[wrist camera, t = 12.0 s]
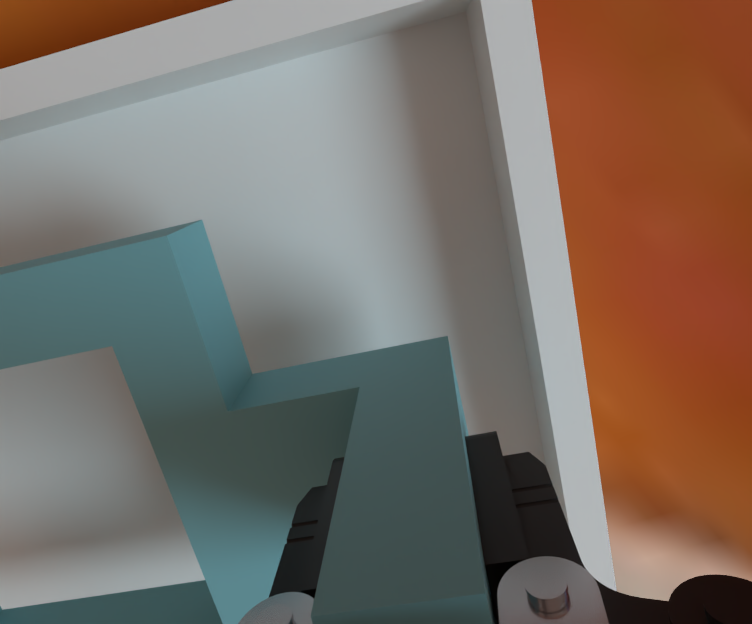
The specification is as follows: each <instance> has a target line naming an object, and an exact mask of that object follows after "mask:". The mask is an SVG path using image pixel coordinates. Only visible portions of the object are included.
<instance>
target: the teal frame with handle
mask: <svg viewBox="0 0 752 624" xmlns="http://www.w3.org/2000/svg"><path fill="white" fill-rule="evenodd" d="M110 346H112V347H113V350H114V352H115V355H116V357H117V360H118V362H119V365H120V367H121V370H122V372H123V375H124V377H125V380H126V382H127V385H128V387H129V390H130V392H131V395H132V397H133V400H134V402H135V405H136V408H137V410H138V413H139V415H140V418H141V420H142V423H143V425H144V428H145V430H146V433H147V435H148V438H149V440H150V443H151V445H152V448H153V450H154V453H155V455H156V458H157V460H158V463H159V465H160V468H161V470H162V473H163V475H164V478H165V480H166V483H167V485H168V488H169V490H170V493H171V495H172V498H173V500H174V503H175V505H176V508H177V510H178V513H179V515H180V518H181V520H182V523H183V525H184V528H185V530H186V533H187V535H188V538H189V540H190V543H191V545H192V548H193V550H194V553H195V555H196V558H197V560H198V563H199V565H200V568H201V570H202V573H203V575H204V578H205V580H202V581H195V582H188V583H181V584H174V585H168V586H161V587H154V588H147V589H140V590H133V591H127V592H120V593H113V594H106V595H99V596H92V597H85V598H79V599H72V600H65V601H58V602H51V603H44V604H38V605H31V606H24V607H17V608H10V609H3V610H2V608H1V606H0V624H238V623H239V622H240V620H241V619H242V618H243V617H244V615H245V614H246V613H247V612H248V611H249V610H251V609H252V608H253V607H254V606H256V605H257V604H258V603H260V602H261V601H263V600H265V599H267V598H269V594H270V591H271V588H272V585H273V582H274V578H275V575H276V572H277V569H278V565H279V562H280V559H281V556H282V553H283V549H284V546H285V544H287V536H288V533H289V530H290V528H292V525H291V524H292V520H293V517H294V514H295V511H296V507H297V505H298V504H299V502H300V501H301V500H302V499H303V498H304V496H305V495H306V494H307V493H308V492H309V490H310V489H311V488H312V487H318V486H324V485H327V482H328V478H329V474H330V470H331V466H332V462H333V460H334V459H335V458H341V457H345V458H344V463H343V467H342V472H341V477H340V481H339V486H338V491H337V495H336V500H335V505H334V509H333V514H332V519H331V523H330V528H329V533H328V537H327V542H326V547H325V551H324V556H323V561H322V565H321V570H320V575H319V579H318V584H317V589H316V593H315V598H314V603H313V607H312V612H311V620H312V623H313V624H497V619H496V615H495V610H494V606H493V601H492V596H491V592H490V587H489V583H488V578H487V574H486V569H485V564H484V558H483V551H482V545H481V538H480V532H479V525H478V519H477V512H476V506H475V499H474V493H473V486H472V480H471V473H470V467H469V460H468V454H467V447H466V441H465V436H469V434H468V430H467V425H466V420H465V416H464V411H463V406H462V401H461V397H460V392H459V387H458V382H457V378H456V373H455V368H454V364H453V359H452V354H451V349H450V345H449V340H448V336H444V337H439V338H433V339H428V340H423V341H418V342H413V343H408V344H403V345H398V346H393V347H387V348H382V349H377V350H372V351H367V352H362V353H357V354H352V355H347V356H341V357H336V358H331V359H326V360H321V361H316V362H311V363H306V364H301V365H295V366H290V367H285V368H280V369H275V370H270V371H265V372H260V373H254V374H252V371H251V368H250V365H249V362H248V359H247V356H246V353H245V350H244V347H243V344H242V341H241V337H240V334H239V331H238V328H237V325H236V322H235V319H234V316H233V313H232V310H231V307H230V304H229V301H228V298H227V295H226V291H225V288H224V285H223V282H222V279H221V276H220V273H219V270H218V267H217V264H216V261H215V258H214V255H213V252H212V249H211V245H210V242H209V239H208V236H207V233H206V230H205V227H204V224H203V221H202V220H198V221H194V222H190V223H186V224H181V225H177V226H173V227H169V228H165V229H160V230H156V231H152V232H148V233H143V234H139V235H135V236H131V237H127V238H122V239H118V240H114V241H110V242H105V243H101V244H97V245H93V246H89V247H84V248H80V249H76V250H72V251H67V252H63V253H59V254H55V255H50V256H46V257H42V258H38V259H34V260H29V261H25V262H21V263H17V264H12V265H8V266H4V267H0V369H5V368H10V367H15V366H20V365H24V364H29V363H34V362H39V361H43V360H48V359H53V358H58V357H62V356H67V355H72V354H77V353H81V352H86V351H91V350H96V349H101V348H105V347H110Z"/></svg>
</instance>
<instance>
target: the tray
mask: <svg viewBox="0 0 752 624" xmlns="http://www.w3.org/2000/svg"><path fill="white" fill-rule="evenodd" d="M198 220H202V221H203V224H204V227H205V230H206V233H207V236H208V239H209V242H210V245H211V249H212V252H213V255H214V258H215V261H216V264H217V267H218V270H219V273H220V276H221V279H222V282H223V285H224V288H225V291H226V295H227V298H228V301H229V304H230V307H231V310H232V313H233V316H234V319H235V322H236V325H237V328H238V331H239V334H240V337H241V341H242V344H243V347H244V350H245V353H246V356H247V359H248V362H249V365H250V368H251V371H252V374H254V373H260V372H265V371H270V370H275V369H280V368H285V367H290V366H295V365H301V364H306V363H311V362H316V361H321V360H326V359H331V358H336V357H341V356H347V355H352V354H357V353H362V352H367V351H372V350H377V349H382V348H387V347H393V346H398V345H403V344H408V343H413V342H418V341H423V340H428V339H433V338H439V337H444V336H448V340H449V345H450V349H451V354H452V359H453V364H454V368H455V373H456V378H457V382H458V387H459V392H460V397H461V401H462V406H463V411H464V416H465V420H466V425H467V430H468V434H469V436H470V435H476V434H482V433H487V432H493V431H496V432H497V435H498V439H499V443H500V447H501V451H502V455H503V456H505V455H511V454H517V453H523V452H530V453H531V454H532V455H534V456H535V457H536V458H537V459H538V460H540V461H541V462H542V463H543V464H545V465H546V468H547V471H548V473H549V476H550V479H551V481H552V485H553V487H554V489H555V492H556V494H557V497H558V501H559V502H560V505H561V508H562V510H563V513H564V516H565V518H566V521H567V524H568V526H569V529H570V532H571V534H572V537H573V540H574V542H575V545H576V548H577V550H578V553H579V556H580V558H581V561H582V563H583V565H584V567H585V568H586V569H587V571H588V572H589V573H590V574H591V575H592V576H593V577H594V578H595V579H596V580H597V581H599V582H600V583H601V584H603V585H605V586H606V587H608V588H610V589H612V590H614V591H616V584H615V577H614V570H613V563H612V556H611V549H610V542H609V535H608V528H607V521H606V514H605V507H604V500H603V493H602V487H601V480H600V473H599V466H598V459H597V452H596V445H595V438H594V431H593V424H592V417H591V410H590V403H589V396H588V389H587V382H586V376H585V369H584V362H583V355H582V348H581V341H580V334H579V327H578V320H577V313H576V306H575V299H574V292H573V285H572V278H571V271H570V265H569V258H568V251H567V244H566V237H565V230H564V223H563V216H562V209H561V202H560V195H559V188H558V181H557V174H556V167H555V160H554V154H553V147H552V140H551V133H550V126H549V119H548V112H547V105H546V98H545V91H544V84H543V77H542V70H541V63H540V56H539V49H538V43H537V36H536V29H535V22H534V15H533V8H532V1H531V0H232V1H229V2H225V3H222V4H219V5H215V6H212V7H209V8H205V9H202V10H199V11H195V12H192V13H188V14H185V15H182V16H178V17H175V18H172V19H168V20H165V21H161V22H158V23H155V24H151V25H148V26H145V27H141V28H138V29H134V30H131V31H128V32H124V33H121V34H118V35H114V36H111V37H107V38H104V39H101V40H97V41H94V42H91V43H87V44H84V45H80V46H77V47H74V48H70V49H67V50H64V51H60V52H57V53H54V54H50V55H47V56H43V57H40V58H37V59H33V60H30V61H27V62H23V63H20V64H16V65H13V66H10V67H6V68H3V69H0V267H4V266H8V265H12V264H17V263H21V262H25V261H29V260H34V259H38V258H42V257H46V256H50V255H55V254H59V253H63V252H67V251H72V250H76V249H80V248H84V247H89V246H93V245H97V244H101V243H105V242H110V241H114V240H118V239H122V238H127V237H131V236H135V235H139V234H143V233H148V232H152V231H156V230H160V229H165V228H169V227H173V226H177V225H181V224H186V223H190V222H194V221H198ZM202 580H205V578H204V575H203V573H202V570H201V568H200V565H199V563H198V560H197V558H196V555H195V553H194V550H193V548H192V545H191V543H190V540H189V538H188V535H187V533H186V530H185V528H184V525H183V523H182V520H181V518H180V515H179V513H178V510H177V508H176V505H175V503H174V500H173V498H172V495H171V493H170V490H169V488H168V485H167V483H166V480H165V478H164V475H163V473H162V470H161V468H160V465H159V463H158V460H157V458H156V455H155V453H154V450H153V448H152V445H151V443H150V440H149V438H148V435H147V433H146V430H145V428H144V425H143V423H142V420H141V418H140V415H139V413H138V410H137V408H136V405H135V402H134V400H133V397H132V395H131V392H130V390H129V387H128V385H127V382H126V380H125V377H124V375H123V372H122V370H121V367H120V365H119V362H118V360H117V357H116V355H115V352H114V350H113V347H112V346H110V347H105V348H101V349H96V350H91V351H86V352H81V353H77V354H72V355H67V356H62V357H58V358H53V359H48V360H43V361H39V362H34V363H29V364H24V365H20V366H15V367H10V368H5V369H0V606H1V608H2V610H3V609H10V608H17V607H24V606H31V605H38V604H44V603H51V602H58V601H65V600H72V599H79V598H85V597H92V596H99V595H106V594H113V593H120V592H127V591H133V590H140V589H147V588H154V587H161V586H168V585H174V584H181V583H188V582H195V581H202Z"/></svg>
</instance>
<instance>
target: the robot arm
mask: <svg viewBox="0 0 752 624" xmlns="http://www.w3.org/2000/svg"><path fill="white" fill-rule="evenodd" d="M465 441H466V447H467V454H468V460H469V467H470V473H471V480H472V486H473V493H474V499H475V506H476V512H477V519H478V525H479V532H480V538H481V545H482V551H483V558H484V564H485V569H486V574H487V578H488V583H489V587H490V592H491V596H492V601H493V606H494V610H495V615H496V619H497V624H752V582H751V581H748V580H745V579H742V578H738V577H733V576H727V575H704V576H698V577H694V578H692V579H689V580H687V581H685V582H683V583H681V584H680V585H679V586H678V587H677V588H676V589H675V590H674V591H673V593H672V594H671V597H670V599H669V601H661V600H653V599H646V598H639V597H634V596H629V595H626V594H622V593H619V592H617V591H614V590H612V589H610V588H608V587H606V586H605V585H603V584H601V583H600V582H599V581H597V580H596V579H595V578H594V577H593V576H592V575H591V574H590V573H589V572H588V571H587V569H586V568H585V567H584V565H583V563H582V561H581V558H580V556H579V553H578V550H577V548H576V545H575V542H574V540H573V537H572V534H571V532H570V529H569V526H568V524H567V521H566V518H565V516H564V513H563V510H562V508H561V505H560V502H559V501H558V497H557V494H556V492H555V489H554V487H553V485H552V481H551V479H550V476H549V473H548V471H547V468H546V465H545V464H543V463H542V462H541V461H540V460H538V459H537V458H536V457H535V456H534V455H532V454H531V453H530V452H523V453H517V454H511V455H505V456H503V455H502V451H501V447H500V443H499V439H498V435H497V432H496V431H493V432H487V433H482V434H476V435H470V436H465ZM344 458H345V457H341V458H335V459H334V460H333V462H332V466H331V470H330V474H329V478H328V482H327V485H324V486H318V487H312V488H311V489H310V490H309V492H308V493H307V494H306V495H305V496H304V498H303V499H302V500H301V501H300V502H299V504H298V505H297V507H296V511H295V514H294V517H293V520H292V524H291V525H292V528H290V530H289V533H288V536H287V544H285V546H284V549H283V553H282V556H281V559H280V562H279V565H278V569H277V572H276V575H275V578H274V582H273V585H272V588H271V591H270V594H269V598H267V599H265V600H263V601H261V602H260V603H258V604H257V605H256V606H254V607H253V608H252V609H251V610H249V611H248V612H247V613H246V614H245V615H244V617H243V618H242V619H241V620H240V622H239V623H238V624H313V623H312V620H311V612H312V607H313V603H314V598H315V593H316V589H317V584H318V579H319V575H320V570H321V565H322V561H323V556H324V551H325V547H326V542H327V537H328V533H329V528H330V523H331V519H332V514H333V509H334V505H335V500H336V495H337V491H338V486H339V481H340V477H341V472H342V467H343V463H344Z"/></svg>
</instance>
